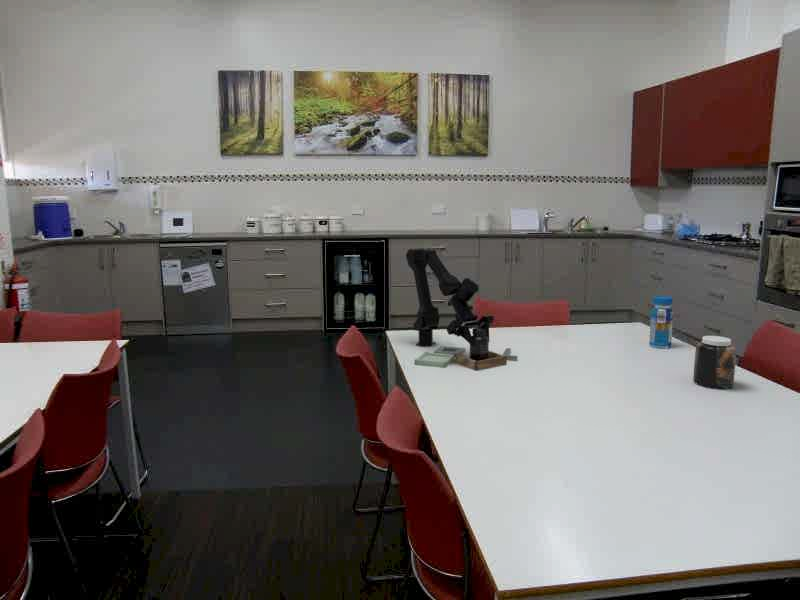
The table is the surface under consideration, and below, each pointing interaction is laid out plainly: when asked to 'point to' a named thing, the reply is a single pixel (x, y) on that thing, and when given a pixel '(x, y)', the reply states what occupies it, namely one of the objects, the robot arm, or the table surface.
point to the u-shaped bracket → (482, 361)
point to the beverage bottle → (661, 322)
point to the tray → (434, 359)
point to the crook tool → (509, 357)
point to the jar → (715, 362)
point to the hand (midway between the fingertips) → (480, 343)
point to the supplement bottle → (479, 345)
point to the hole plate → (453, 350)
